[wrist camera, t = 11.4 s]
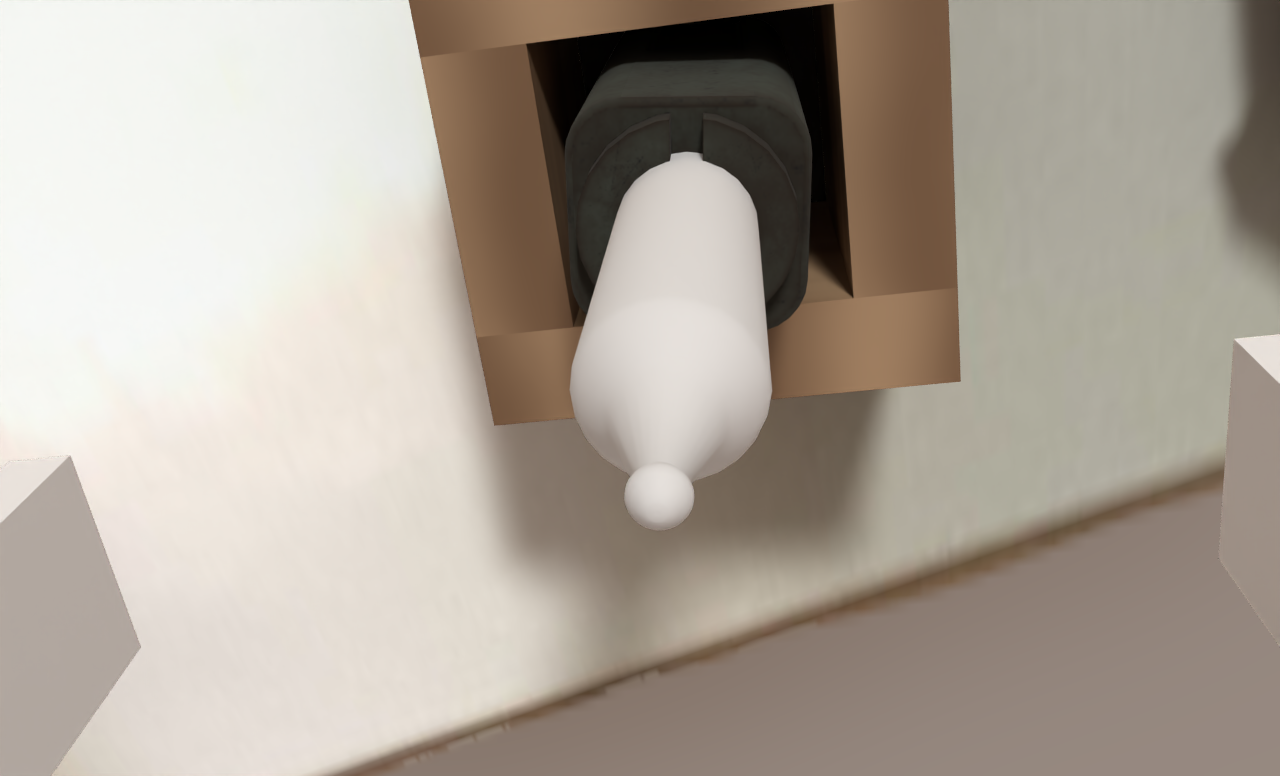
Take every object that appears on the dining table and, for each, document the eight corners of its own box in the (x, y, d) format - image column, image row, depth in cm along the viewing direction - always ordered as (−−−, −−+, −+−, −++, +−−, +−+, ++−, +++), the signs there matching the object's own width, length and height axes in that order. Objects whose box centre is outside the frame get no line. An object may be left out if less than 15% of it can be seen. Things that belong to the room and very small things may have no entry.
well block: (542, 307, 40) (494, 425, 32) (473, -80, 35) (397, -57, 27) (910, 268, 39) (960, 381, 31) (891, -139, 34) (944, -135, 26)
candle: (786, 15, 36) (890, 309, 13) (782, 185, 38) (865, 694, 15) (614, 17, 36) (423, 309, 13) (619, 185, 38) (461, 685, 16)
